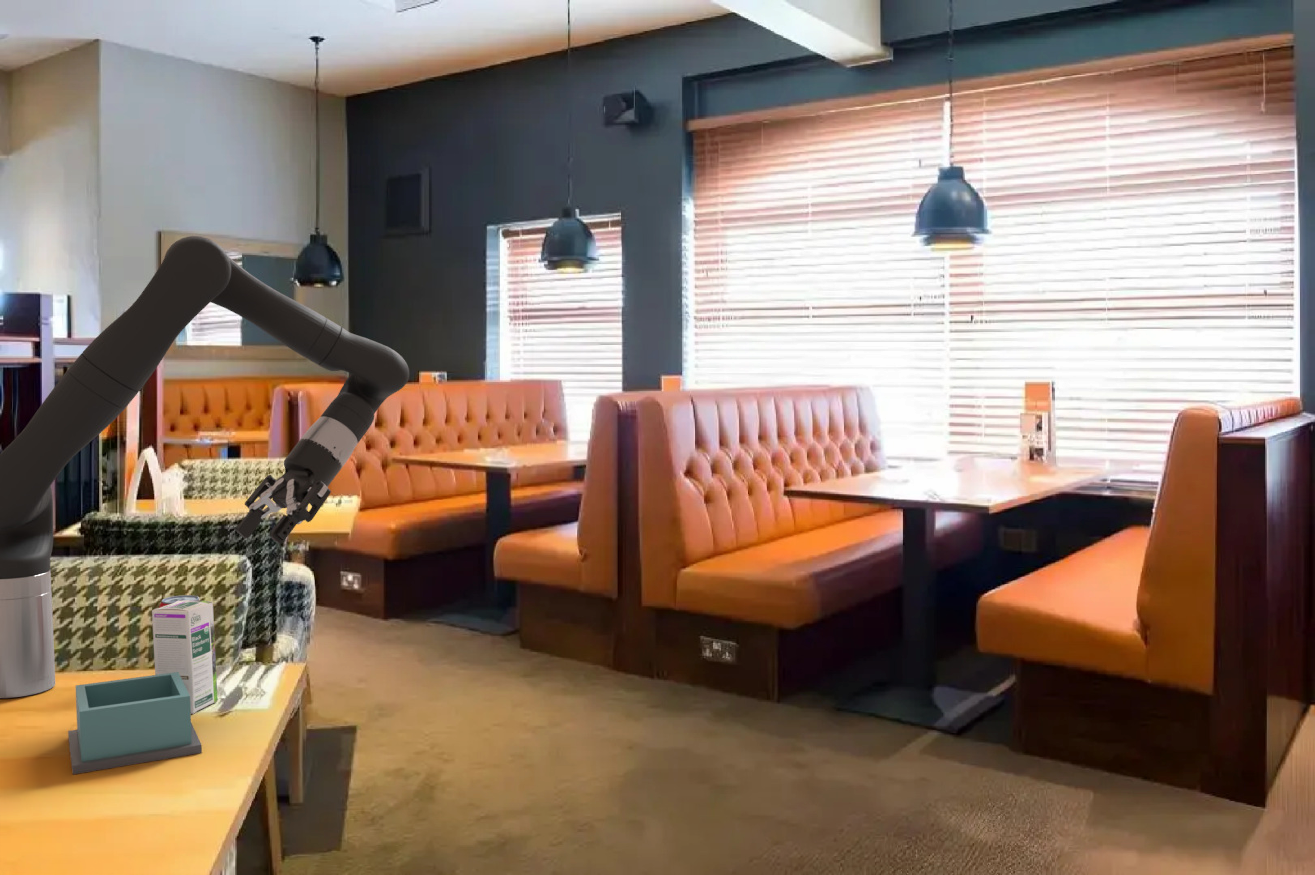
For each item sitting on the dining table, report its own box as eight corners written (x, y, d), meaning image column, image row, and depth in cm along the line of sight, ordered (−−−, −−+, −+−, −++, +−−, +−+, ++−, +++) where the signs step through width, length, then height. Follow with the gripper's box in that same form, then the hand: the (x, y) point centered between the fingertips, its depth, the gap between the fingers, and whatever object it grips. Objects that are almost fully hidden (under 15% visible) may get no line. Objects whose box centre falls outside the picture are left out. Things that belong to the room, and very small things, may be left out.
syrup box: (193, 715, 149) (189, 609, 148) (154, 712, 150) (151, 607, 149) (218, 702, 155) (215, 600, 154) (180, 699, 156) (177, 598, 155)
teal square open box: (68, 738, 140) (66, 684, 139) (187, 720, 147) (185, 669, 146) (72, 774, 128) (70, 715, 127) (201, 752, 135) (199, 697, 134)
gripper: (278, 435, 170) (213, 517, 162) (335, 438, 162) (269, 525, 154) (308, 466, 175) (246, 548, 167) (365, 471, 166) (303, 557, 158)
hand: (257, 537), depth 160 cm, fingers open, 8 cm apart
